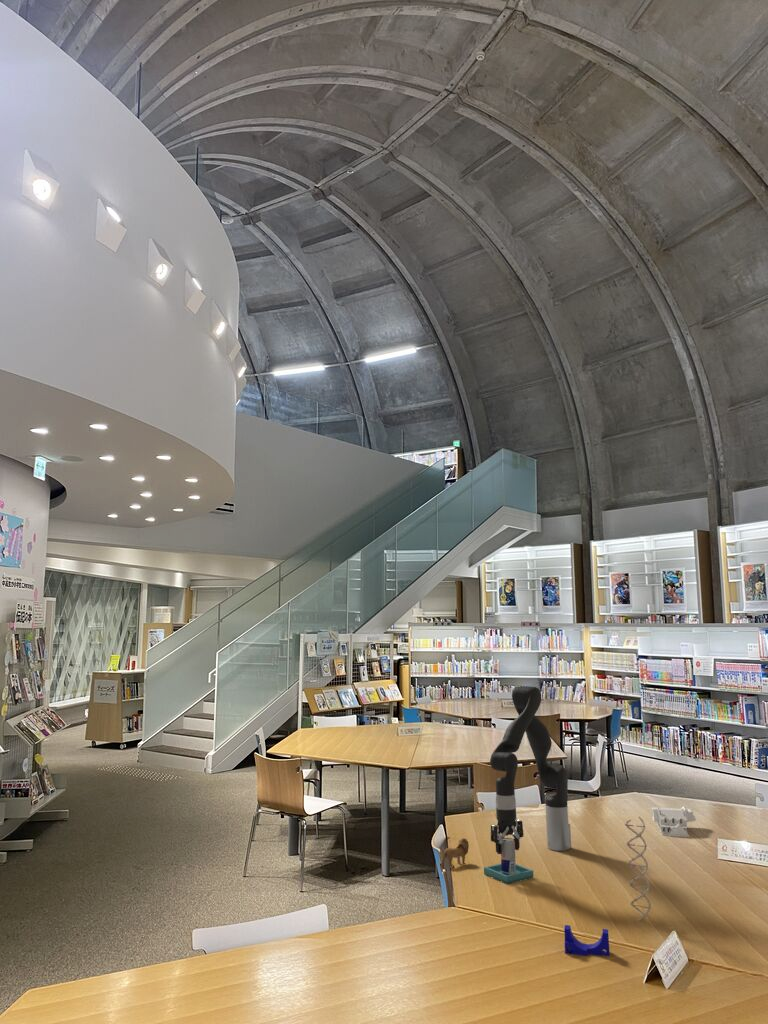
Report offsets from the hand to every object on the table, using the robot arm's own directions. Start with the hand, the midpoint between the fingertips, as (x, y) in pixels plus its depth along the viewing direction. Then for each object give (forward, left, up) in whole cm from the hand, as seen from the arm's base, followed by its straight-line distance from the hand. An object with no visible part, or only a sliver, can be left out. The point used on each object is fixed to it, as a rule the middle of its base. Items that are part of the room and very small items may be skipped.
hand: (507, 851), depth 267 cm
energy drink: (0, 0, -8) cm, 8 cm away
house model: (-107, -6, -9) cm, 108 cm away
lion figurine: (+9, -22, -9) cm, 25 cm away
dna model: (-8, +54, -9) cm, 55 cm away
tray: (0, 0, -9) cm, 9 cm away
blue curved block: (+26, +63, -9) cm, 68 cm away
